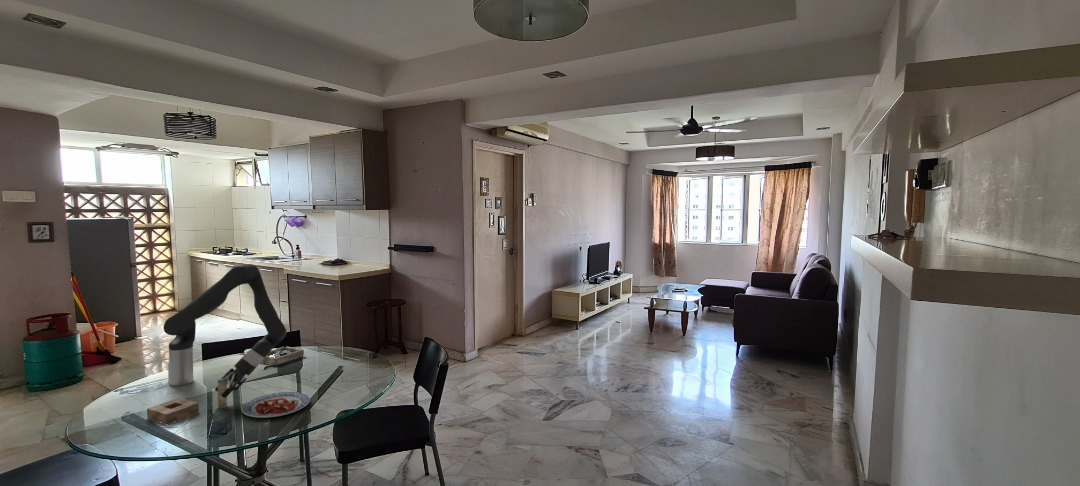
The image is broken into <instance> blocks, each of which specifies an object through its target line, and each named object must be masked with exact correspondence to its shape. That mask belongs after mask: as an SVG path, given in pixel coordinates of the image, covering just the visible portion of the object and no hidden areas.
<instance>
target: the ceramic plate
mask: <svg viewBox="0 0 1080 486" xmlns="http://www.w3.org/2000/svg"><path fill="white" fill-rule="evenodd" d="M310 400H311V399H310V396H309V395H307V394H306V393H302V392H297V391H279V392H273V393H268V394H264V395H260V396H257V397H255V398H252V399H251V400H249V401H247V402H245V403H244V404H243V405H242V407H241V412H242V413H243V414H244V415H245V416H247V417H252V418H275V417H282V416H286V415H289V414H292V413H295V412H297V411H300V410H301V409H303V408H305V407H306V406H307V405H309V403H310ZM290 401H291V402H292V403H291V402H290ZM294 401H296V402H297V403H298V406H297V407H296V405H295V404H296V403H295V402H294ZM295 407H296V408H295ZM294 408H295V409H294Z"/></svg>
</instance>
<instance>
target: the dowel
mask: <svg viewBox="0 0 1080 486" xmlns="http://www.w3.org/2000/svg"><path fill="white" fill-rule="evenodd" d="M217 386H218V392H217V408H218V409H224V408H227V406H228V396H227V397H226V398H224V397H222V396H221V395H222V393H223V392H224V391H225V390H226V389H227V388H228V384H227V379H226V378H223V379H221V378H219V379H217Z"/></svg>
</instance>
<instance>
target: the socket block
mask: <svg viewBox="0 0 1080 486" xmlns="http://www.w3.org/2000/svg"><path fill="white" fill-rule="evenodd" d="M199 404H200V403H199V402H196V401H193V400H189V399H185V398H182V397H177V398H175V399H172V400H169V401H165V402H163V403H160V404H157V405H154V406H152V407H148V408H147V409H146V413H147V414H146V418H147V420H149V419H151V420H150V421H153V420H155V421H154V422H156V421H158V422H157V423H159V422H162V423H161V424H163V423H165V424H164V425H166V424H168V425H170V424H169V423H171V424H173V423H175V422H174V421H176V422H178V421H180V420H179V419H181V420H183V419H182V418H184V419H185V417H186V418H188V416H189V417H191V416H194V415H196V414H199V412H200V411H199ZM177 420H178V421H177ZM172 422H173V423H172Z"/></svg>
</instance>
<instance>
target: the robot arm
mask: <svg viewBox="0 0 1080 486" xmlns="http://www.w3.org/2000/svg"><path fill="white" fill-rule="evenodd" d="M241 285H249V287H250V289H251V290H252V293H253V299H254V300H253V301H254V302H253V303H254V304H253V306H254V309H255V312H256V314H257V315H258V317H259V319H260V320H261V322H262V323H263V325H264V327H265V329H266V331H267V333H266V335H264V337H262V339H259V340H258V341H257V342H256V343H255V344H254V345H253V346H252V347H251V348H250V349H249V350H248V351H246V352H245V354H244V355H243V356H242V357H240V359H238V361H237V362H236V363H235V364H234V365H233V366H234V368H230V369H229V370H228V371H227V372H226V373H225V374H224V375H223V376H222V377H221V378H220V379H223V378H226V379H227V385H228V384H229V385H228V386H227V389H226V390H225V391H224V392H223V393H222V395H221V396H222V397H224V398H226V397H227V398H228V396H229V395H230V394H231V393H232V392H235V391H238V390H239V389H240V387H241V386H242V385H243V384H244V383H245V382H246V381H247V377H245V376H250V375H251V374H252V373H253V372H254V371H255V370H256V369H257V368H258V367H259V365H260V364H262V363H261V362H262V360H263V359H264V358H265V357H266V356H267V355H268V353H269V352H270V351H271V350H274V348H275V347H277V345H279V343H281V342H282V340H284V338H285V337H286V335H287V333H288V332H287V328H286V327H285V325H284V324H283V322H282V320H281V319H280V317H279V316H278V313H277V311H276V308H275V307H274V305H273V303H272V302H271V299H270V297H269V295H268V293H267V289H266V286H265V284H264V280H263V278H262V273H261V272H260V270H259V268H258V266H256V265H255V264H252V263H249V264H247V263H245V264H237V265H235V266H232V267H231V269H230V270H228V271H227V273H225V274H224V275H223V276H222V277H221V278H220V279H219V280H218V281H217V282H215V283H214V284H213V285H211V286H210V287H208V288H207V289H206V290H204V291H203V292H202V293H201V294H199V295H198V296H197V297H196V298H195V299H193V301H191V302H190V303H189V304H188V305H186V306H185V307H184V308H183V309H181V310H180V311H178V312H176V313H175V314H173V315H171V316H170V317H168V318H167V319H166V320H165V321H164V324H163V332H164V333H165V334H167V335H168V336H171V337H172V336H175V337H174V338H173V339H172V340H171V341H170V342H169V343H168V364H167V368H168V369H167V371H168V372H167V373H168V375H167V376H168V379H167V381H168V384H169V386H173V387H174V386H175V387H176V386H186V385H188V384H191V383H192V382H194V342H195V340H196V331H197V330H196V329H197V328H196V325H197V322H196V320H199V319H200V318H202V317H204V316H206V315H208V314H210V313H212V312H213V311H215V310H217V309H218V308H219V307H221V306H222V304H224V302H225V301H226V300H227V299H228V297H229V296H228V295H229V293H230V292H232V291H233V290H234V289H236V288H238V287H240V286H241ZM214 391H215V392H217V393H218V385H217V386H216V388H214Z"/></svg>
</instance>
